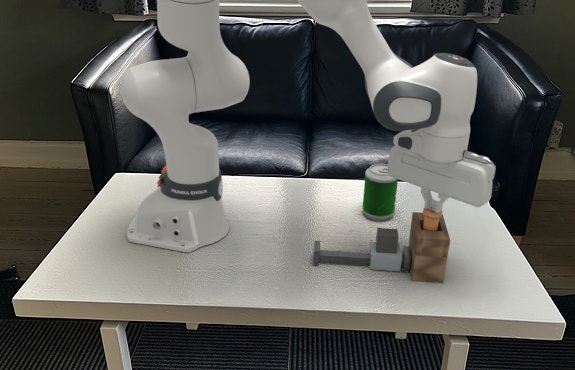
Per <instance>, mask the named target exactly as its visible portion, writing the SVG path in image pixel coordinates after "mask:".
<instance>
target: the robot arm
mask: <svg viewBox="0 0 575 370" xmlns="http://www.w3.org/2000/svg"><path fill="white" fill-rule="evenodd" d="M297 2H298V3H299V5H300V6H301V7H302V8H303V9H304V10H305V12H306V13H307V14H308V15H309V17H311V19H313V20H314V21H315V22H316V23H317V24H318V25H322V26H325V27H328V28H330V29H331V30H334V31H335V32H336V33H337V35H339V36H340V37H341V39H342V40H343V41H344V43H345V44H346V46H347V47H348V49H349V51H350V52H351V53H352V55H353V57H354V58H355V60H356V62H357V63H358V64H359V66H360V68H361V69H362V72H363V75H364V76H363V77H364V84H365V85H364V86H365V90H366V95H367V96H368V98H369V101H370V104H371V105H370V106H371V108H372V112H373V115H374V117H375V120H376V121H377V122H378V123H379V124H380V125H381V126H382V127H384V128H385V129H387V130H390V131H393V132H394V131H396V132H399V133H397V134H396V135H394V137H393V145H394V146H392V148H391V149H390V152H389V156H388V161H387V165H388V167H387V171H388V173H389V175H390V176H391V177H393V178H396V179H398V181H399V180H400V181H402V182H405V183H407V184H411V185H414V186H416V187H419V188H420V193H421V194H420V195H422V199H423V200H424V207H423V209H424V208H425V209H427V210H430V211H433V212H435V213H440V212H441V211H442V212H443V204H445V203H446V202H447V200H448V199H449V198H450V199H454V200H456V201H459V202H462V203H465V204H467V205H470V206H473V207H476V208H481V207H482V206H484V205H486V204H488V202H490V200H491V197H492V194H493V192H492V191H493V180H494V179H495V176H496V175H495V174H496V170H497V169H496V165H495V163H494V162H493V161H492V160H490V157H488V156H485V155H480V154H477V153H475V152H472V151H468V147H469V146H468V145H469V143H470V141H469V140H470V134H471V124H470V122H471V116H472V115H473V112H474V109H475V104H476V98H477V89H478V71H477V68H476V66H475V65H474V64H473V63H472V62H471V61H470V60H468V58H465V57H462V56H461V55H457V54H453V53H449V52H448V53H447V52H439V53H434V54H433V56H432V57H430V58H428V59H427V60H425V61H424V62H422V63H420V64H419V65H416V66H413V65H412V64H410V63H409V62H408V61H407V60H406V59H404V58H402V57H400V56H399V55H397V54H396V53H394V51H393V50H392V49H391V47H390V46H389V44H388V42H387V41H386V38H384V36H383V34H382V33H381V31H380V30H379V27H378V26H377V24H376V22H375V21H374V19H373V16H372V15H371V12H370V10H369V5H368V0H297ZM156 3H157V4H156V6H157V7H156V9H157V10H156V11H157V28H158V31H159V33H160V35H161V36H162V37H163V39H165V40H166V42H168V43H169V44H171V45H173V46H175V47H177V48H179V49H182V50H184V51H187V55H186V56H183V57H177V58H169V59H167V58H166V59H157V60H150V61H147V62H144V63H140V64H137V65H134V66H131V67H128V69H127V70H126V71H125V72H124V74H123V76H122V79H121V82H120V95H121V99H122V102H123V103H124V105H125V107H126V108H127V110H128V111H129V112H130V113H131V114H133V116H135V117H136V118H139V119H141V120H142V121H144V122H146V123H147V124H148V125H149V126H150V127H151V128H152V129H153V130H154V131H155V132H156V134H157V135H158V137H159V139H160V140H161V144H162V148H163V153H164V159H165V166H164V167H163V168H162V169H161V174H160V175H159V177H158V181H157V182H156V184H157V189H155V190H154V191H153V192H151V193H149V194H148V195H147V196H146V197H145V198H144V199H143V200H142V201H141V203H140V205H139V206H138V209H137V212H136V215H135V216H134V218H133V219H132V220H130V223H129V225H128V226H127V230H126V239H127V241H128V242H131V243H134V244H139V245H145V246H151V247H156V248H161V249H166V250H170V251H171V250H172V251H177V252H181V253H182V252H183V253H193V252H194V251H196V250H197V249H199V248H201V247H204V246H208V245H211V244H214V243H216V242H218V241H220V240H222V239H224V238H225V236H226V235H227V234H228V232H229V230H230V224H229V222H228V219H227V217H226V214H225V208H224V204H223V198H222V196H223V190H224V187H223V178H222V171H221V169H220V164H219V163H220V161H219V159H220V158H219V143H218V139H217V137H216V136H215V135H214V133H213V132H212V131H210V130H209V129H207V128H205V127H203V126H200V125H197V124H193V123H190V121H189V120H190V119H189V118H190V116H189V115H191V114H193V113H200V112H207V111H215V110H222V109H225V108H228V107H230V106H233V105H236V104H238V103H239V104H240V103H241V102H243V101H244V100H245V98H246V96H247V95H248V92H249V89H250V85H251V83H250V80H251V79H250V74H249V71H248V69H247V67H246V65H245V63H244V62H243V61H242V60H241V59H240V57H238V56H236V55H235V54H233V53H232V52H231V51H230V50H229V49H228V48H227V46H226V45H225V43H224V40H223V38H222V35H221V30H220V29H221V28H220V26H221V25H220V0H156ZM432 192H433V193H436V194H437V195H438V196H437V198H438V199H439V201H438V200H436V199H433V196H432Z"/></svg>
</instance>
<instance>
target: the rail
mask: <svg viewBox="0 0 575 370" xmlns="http://www.w3.org/2000/svg"><path fill="white" fill-rule="evenodd" d="M401 254H402V260H401V268H400V270H402V272H403V273H410V261H411V254H410V248H409V246H408V245H402V251H401ZM370 260H371V255H370V252H358V251H345V250H344V251H342V250H327V249H326V250H325V249H321V240H314V244H313V260H312V261H313V262H312V266H314V267H319V266H320V264H322V265H323V264H324V265H339V266H351V267H352V266H353V267H366V268H367V267H368V268H370Z"/></svg>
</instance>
